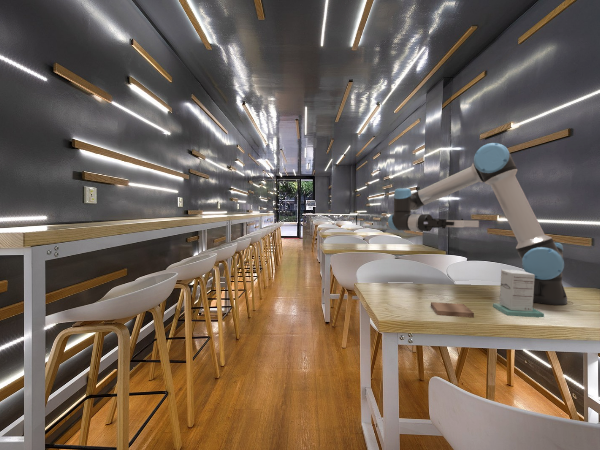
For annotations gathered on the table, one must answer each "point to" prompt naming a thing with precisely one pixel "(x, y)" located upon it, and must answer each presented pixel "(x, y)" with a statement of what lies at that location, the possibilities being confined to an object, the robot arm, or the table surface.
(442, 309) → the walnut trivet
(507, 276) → the supplement box
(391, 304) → the table surface
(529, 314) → the plate
